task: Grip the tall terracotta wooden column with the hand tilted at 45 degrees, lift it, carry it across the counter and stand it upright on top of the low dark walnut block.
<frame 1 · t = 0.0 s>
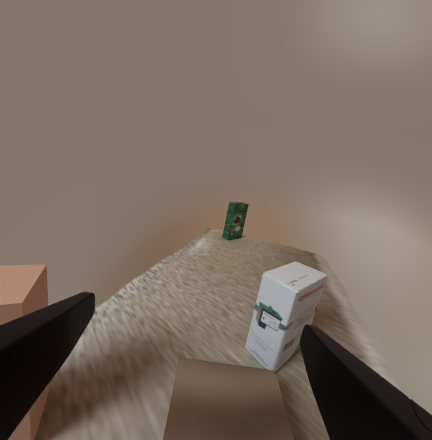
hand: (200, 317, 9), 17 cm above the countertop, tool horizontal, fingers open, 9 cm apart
column: (2, 426, 17), on the countertop
coffee box: (232, 238, 74), on the countertop
ink box: (275, 348, 29), on the countertop
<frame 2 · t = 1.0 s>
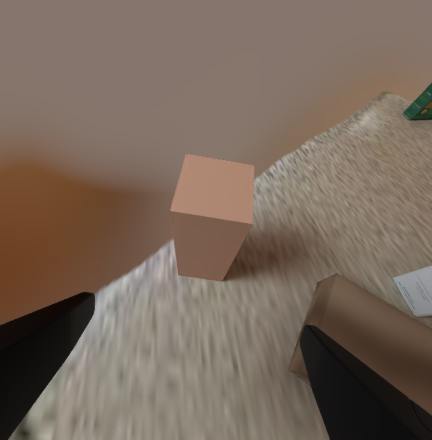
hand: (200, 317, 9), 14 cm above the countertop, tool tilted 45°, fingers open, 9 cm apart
column: (203, 257, 25), on the countertop
coffee box: (417, 117, 50), on the countertop
ink box: (428, 293, 26), on the countertop
walnut block: (347, 350, 22), on the countertop
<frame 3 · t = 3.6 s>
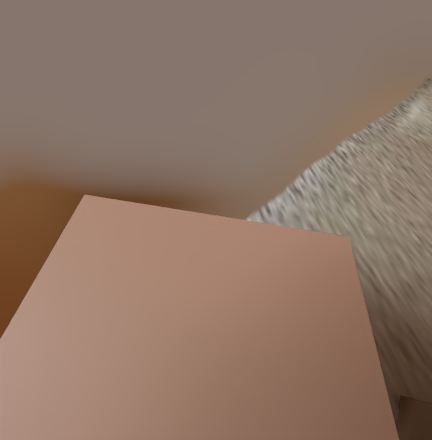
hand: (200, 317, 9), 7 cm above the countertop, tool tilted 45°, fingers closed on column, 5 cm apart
column: (191, 351, 14), on the countertop, touching gripper
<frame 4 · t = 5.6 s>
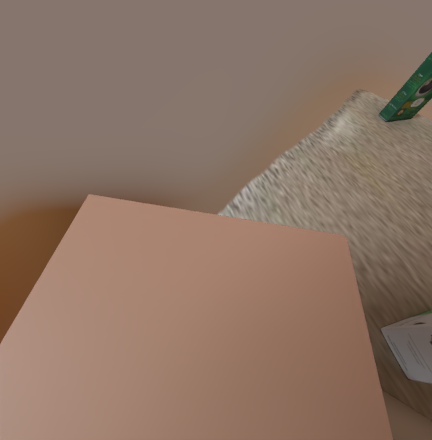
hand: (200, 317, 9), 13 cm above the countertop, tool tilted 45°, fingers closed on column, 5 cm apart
column: (194, 351, 14), point 7 cm above the countertop, touching gripper
coffee box: (394, 117, 46), on the countertop
ink box: (421, 342, 22), on the countertop
when the fingers open (12 cm above the countertop, at t = 7.7 s): column drops 2 cm, point 4 cm above the countertop.
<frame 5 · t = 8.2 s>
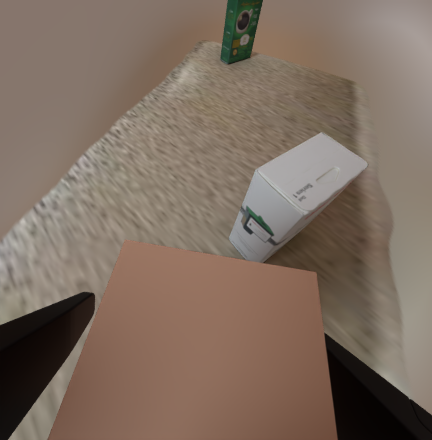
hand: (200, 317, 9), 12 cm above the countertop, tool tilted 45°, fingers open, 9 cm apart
column: (189, 348, 15), point 4 cm above the countertop
coffee box: (235, 59, 49), on the countertop
ink box: (265, 236, 25), on the countertop
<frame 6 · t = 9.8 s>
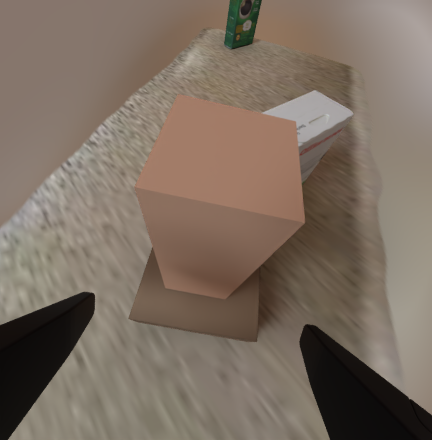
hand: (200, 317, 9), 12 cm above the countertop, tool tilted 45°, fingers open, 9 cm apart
column: (201, 265, 18), point 4 cm above the countertop, touching walnut block
coffee box: (238, 45, 52), on the countertop
ink box: (266, 194, 28), on the countertop
walnut block: (202, 278, 22), on the countertop, touching column
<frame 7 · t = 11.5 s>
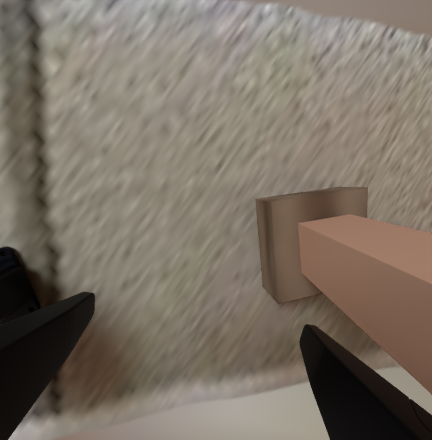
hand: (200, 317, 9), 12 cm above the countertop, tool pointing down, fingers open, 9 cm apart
column: (325, 244, 20), point 4 cm above the countertop, tilted 7°, touching walnut block
walnut block: (298, 235, 24), on the countertop, touching column
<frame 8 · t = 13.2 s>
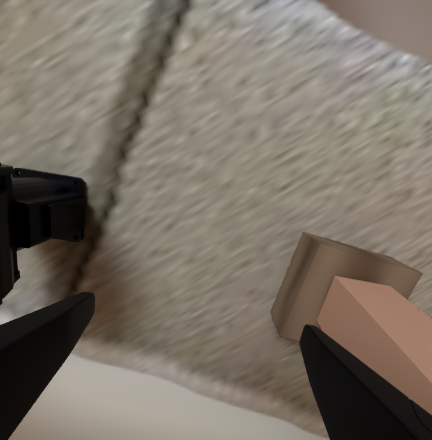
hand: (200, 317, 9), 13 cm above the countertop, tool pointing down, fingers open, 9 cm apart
column: (352, 303, 19), point 4 cm above the countertop, touching walnut block
walnut block: (326, 283, 23), on the countertop, touching column
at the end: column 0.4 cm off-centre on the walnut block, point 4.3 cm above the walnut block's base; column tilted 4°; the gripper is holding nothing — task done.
